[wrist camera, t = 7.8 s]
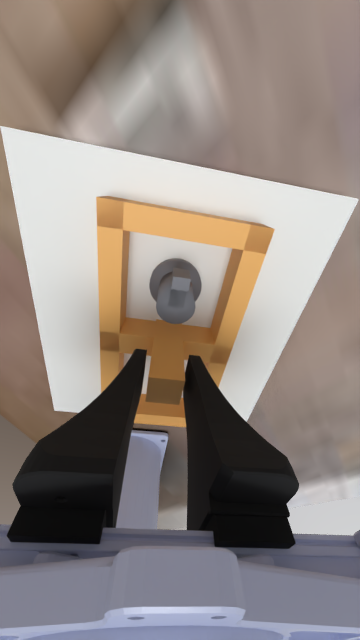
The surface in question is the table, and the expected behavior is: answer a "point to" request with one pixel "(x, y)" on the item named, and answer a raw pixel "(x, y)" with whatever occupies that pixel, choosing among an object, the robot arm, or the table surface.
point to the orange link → (160, 336)
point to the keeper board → (160, 257)
